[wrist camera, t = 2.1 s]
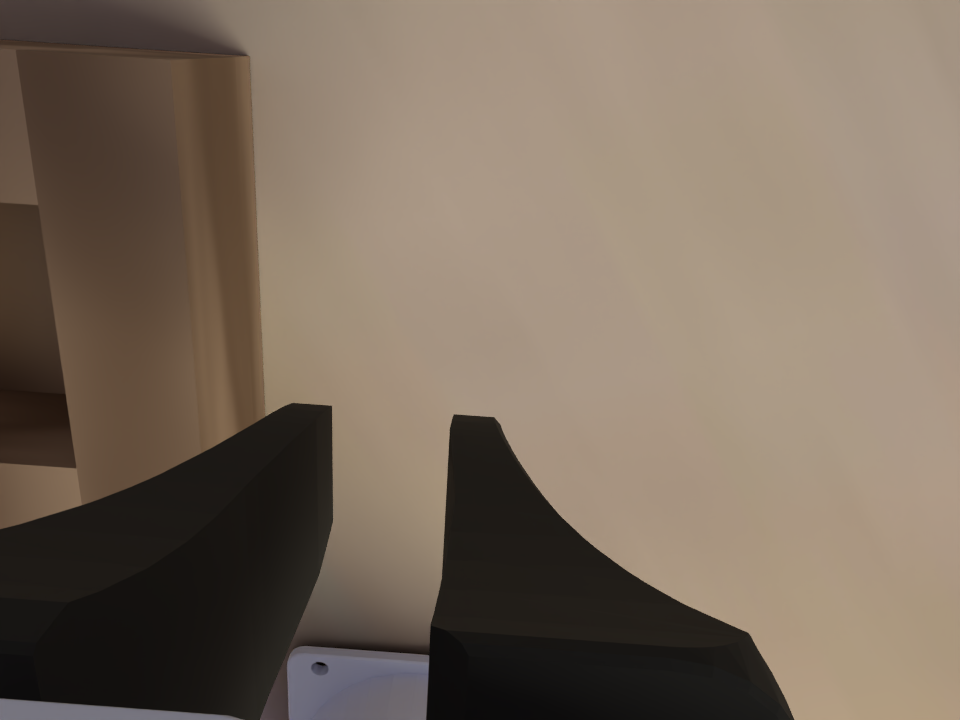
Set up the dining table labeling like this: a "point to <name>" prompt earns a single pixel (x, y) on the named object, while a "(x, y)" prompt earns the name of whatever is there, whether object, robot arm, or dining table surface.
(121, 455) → the pocket block
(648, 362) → the dining table surface
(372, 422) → the dining table surface
